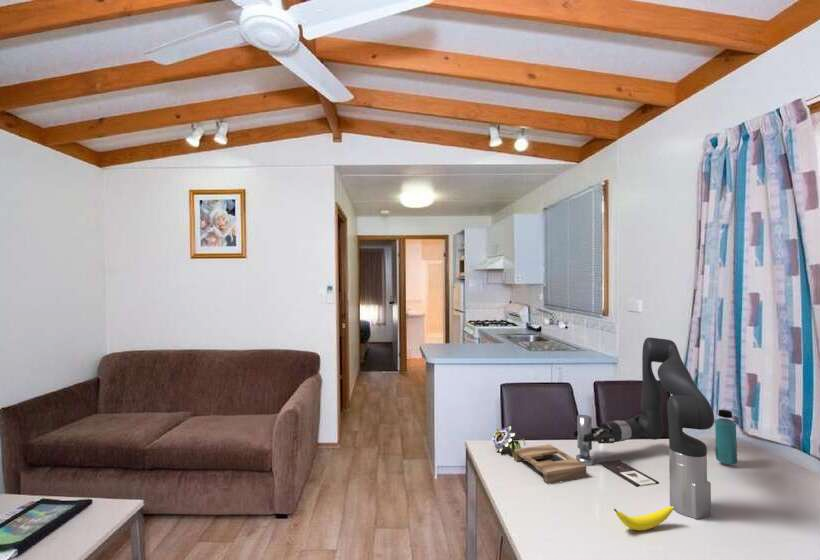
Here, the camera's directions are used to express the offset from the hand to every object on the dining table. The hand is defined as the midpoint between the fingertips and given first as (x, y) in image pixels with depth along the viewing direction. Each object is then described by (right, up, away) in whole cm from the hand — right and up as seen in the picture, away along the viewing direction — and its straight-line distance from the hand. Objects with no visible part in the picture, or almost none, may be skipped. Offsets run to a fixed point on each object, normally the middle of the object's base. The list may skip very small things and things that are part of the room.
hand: (578, 436), depth 152 cm
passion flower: (-24, -11, +11) cm, 28 cm away
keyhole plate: (-13, -10, -4) cm, 17 cm away
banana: (+1, -10, -41) cm, 42 cm away
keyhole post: (+2, -10, +1) cm, 10 cm away
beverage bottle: (+54, -10, -2) cm, 55 cm away
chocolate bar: (+14, -11, -8) cm, 19 cm away
